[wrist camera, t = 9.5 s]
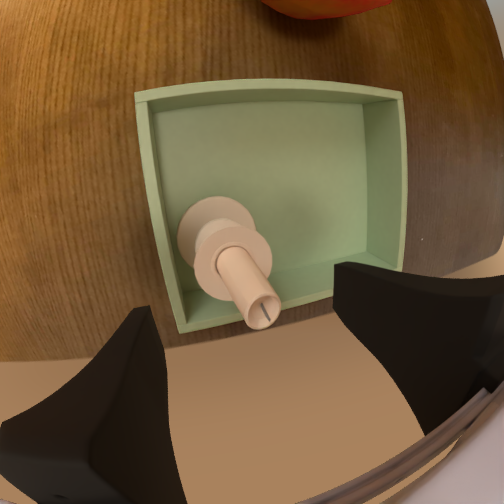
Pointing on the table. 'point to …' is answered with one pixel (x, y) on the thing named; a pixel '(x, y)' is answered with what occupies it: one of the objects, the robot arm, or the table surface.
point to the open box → (277, 179)
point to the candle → (229, 257)
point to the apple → (323, 7)
